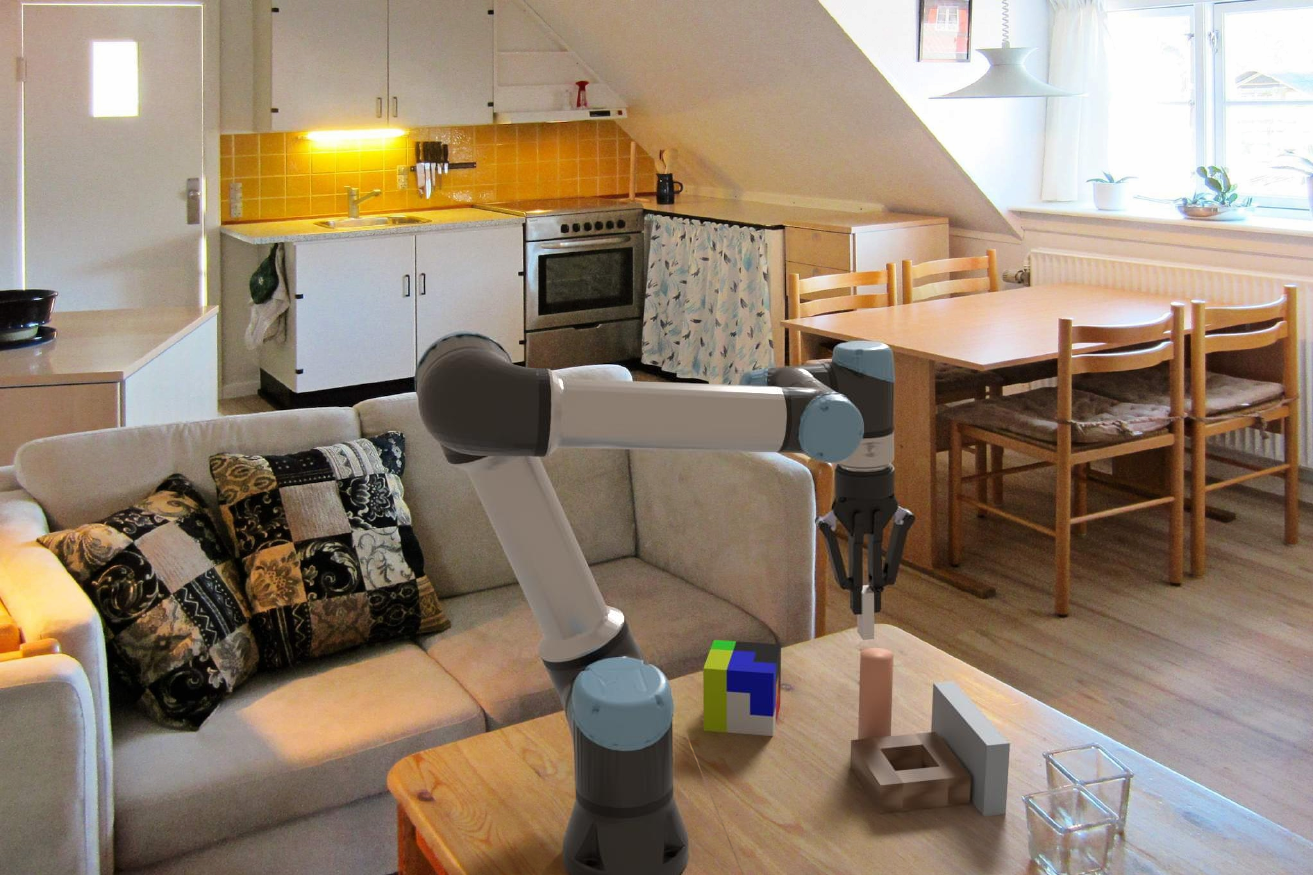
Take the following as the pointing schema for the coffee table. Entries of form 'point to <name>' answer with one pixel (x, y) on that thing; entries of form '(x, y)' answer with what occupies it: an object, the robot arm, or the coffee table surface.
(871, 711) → the dowel
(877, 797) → the block
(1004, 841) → the coffee table surface
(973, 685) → the coffee table surface
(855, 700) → the coffee table surface
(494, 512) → the robot arm
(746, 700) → the puzzle toy
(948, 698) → the board
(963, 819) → the coffee table surface
